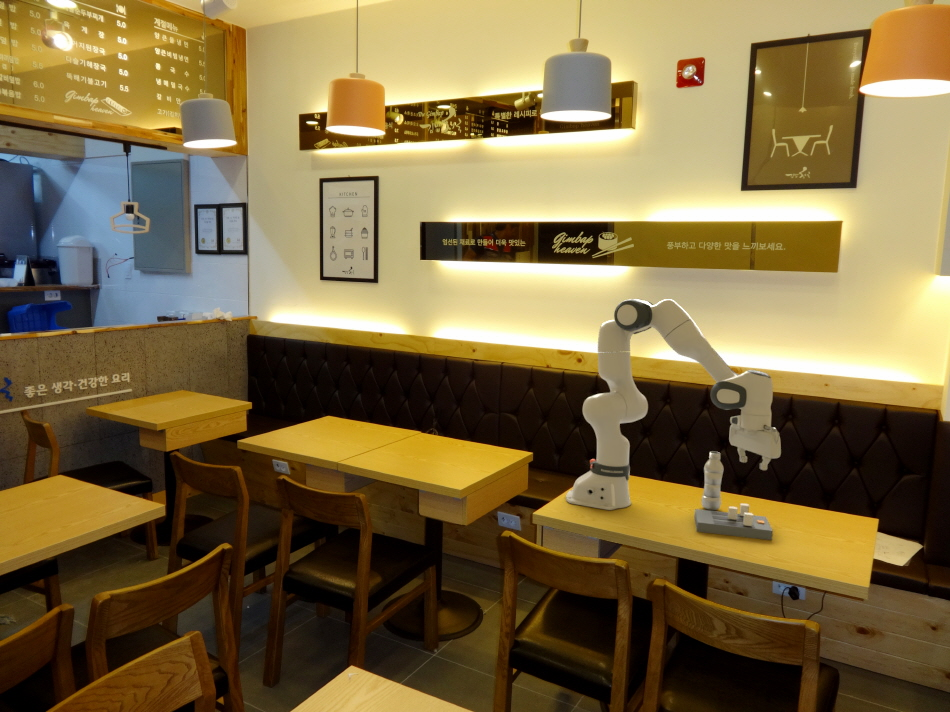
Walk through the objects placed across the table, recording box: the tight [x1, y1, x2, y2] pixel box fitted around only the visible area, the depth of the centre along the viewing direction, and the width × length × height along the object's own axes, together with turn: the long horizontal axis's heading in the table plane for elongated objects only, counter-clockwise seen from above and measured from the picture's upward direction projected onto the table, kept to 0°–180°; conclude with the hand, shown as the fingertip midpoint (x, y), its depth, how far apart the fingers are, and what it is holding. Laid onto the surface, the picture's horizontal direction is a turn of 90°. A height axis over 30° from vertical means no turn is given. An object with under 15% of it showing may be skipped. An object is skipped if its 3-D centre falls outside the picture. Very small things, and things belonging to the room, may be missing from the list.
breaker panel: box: [694, 508, 773, 541], centre depth 223 cm, size 22×13×3 cm, turn 76°
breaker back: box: [739, 502, 750, 516], centre depth 226 cm, size 2×2×4 cm
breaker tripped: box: [727, 506, 738, 520], centre depth 223 cm, size 2×2×4 cm
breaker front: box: [743, 512, 754, 526], centre depth 217 cm, size 2×2×4 cm
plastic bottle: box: [701, 450, 724, 511], centre depth 240 cm, size 6×7×20 cm
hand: (753, 465), depth 220 cm, fingers open, 8 cm apart
